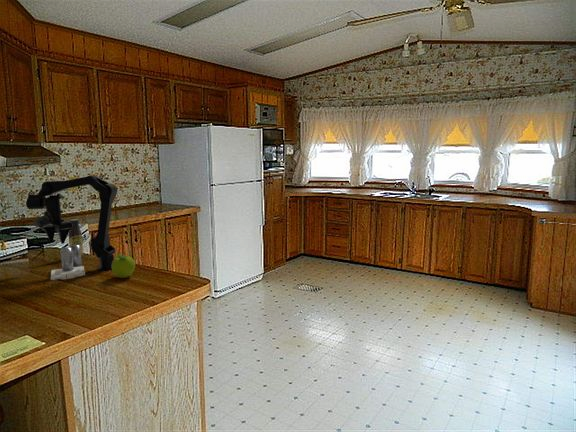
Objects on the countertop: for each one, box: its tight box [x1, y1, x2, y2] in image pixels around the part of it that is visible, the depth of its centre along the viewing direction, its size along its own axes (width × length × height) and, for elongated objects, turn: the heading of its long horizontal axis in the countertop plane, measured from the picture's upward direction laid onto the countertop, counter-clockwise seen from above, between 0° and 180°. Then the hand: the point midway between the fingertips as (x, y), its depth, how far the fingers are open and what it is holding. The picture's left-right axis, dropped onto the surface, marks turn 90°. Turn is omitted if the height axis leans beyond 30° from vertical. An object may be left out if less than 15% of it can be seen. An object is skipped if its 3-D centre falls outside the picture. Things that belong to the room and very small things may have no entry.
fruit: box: [111, 253, 136, 279], centre depth 173 cm, size 9×9×10 cm
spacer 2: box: [68, 245, 83, 267], centre depth 193 cm, size 4×4×10 cm
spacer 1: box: [59, 246, 74, 271], centre depth 179 cm, size 4×4×10 cm
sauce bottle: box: [68, 218, 84, 258], centre depth 209 cm, size 6×6×20 cm
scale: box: [50, 265, 86, 281], centre depth 179 cm, size 13×15×2 cm
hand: (57, 242), depth 185 cm, fingers open, 9 cm apart
